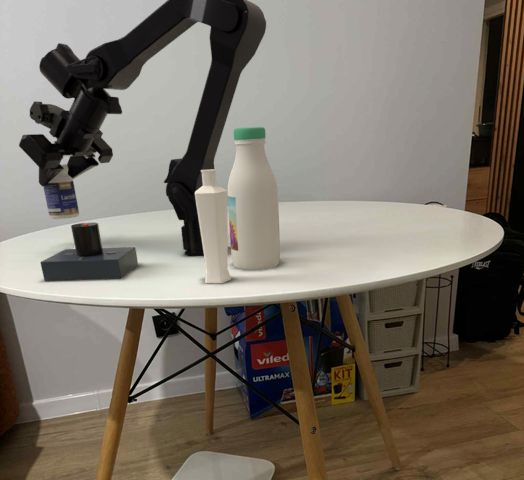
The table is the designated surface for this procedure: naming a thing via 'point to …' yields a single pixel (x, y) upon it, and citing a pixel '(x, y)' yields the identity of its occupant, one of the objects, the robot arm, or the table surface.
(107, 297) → the table surface
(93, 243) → the clamp knob
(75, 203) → the pill bottle
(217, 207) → the perfume bottle
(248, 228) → the milk bottle
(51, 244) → the table surface
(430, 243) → the table surface
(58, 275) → the block
